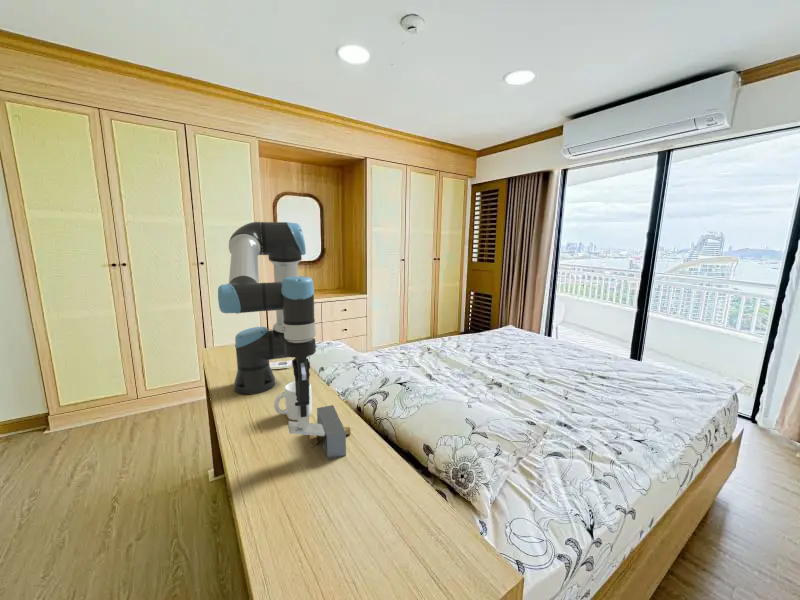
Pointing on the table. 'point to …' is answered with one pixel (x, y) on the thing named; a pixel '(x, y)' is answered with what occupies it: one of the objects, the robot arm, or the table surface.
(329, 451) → the block
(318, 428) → the tab
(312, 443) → the lynch pin
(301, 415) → the robot arm
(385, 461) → the table surface
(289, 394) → the mug
